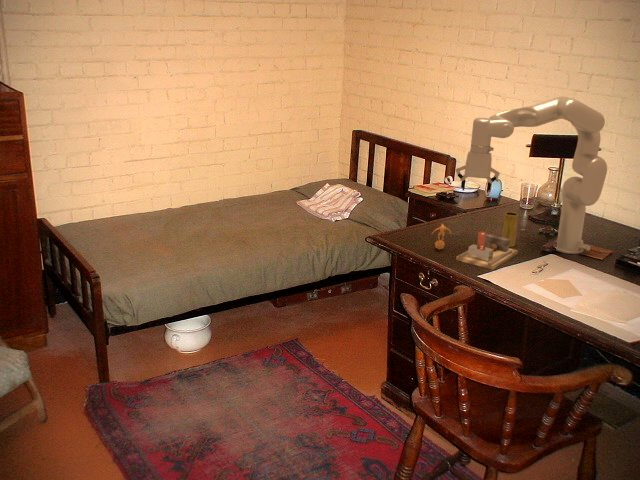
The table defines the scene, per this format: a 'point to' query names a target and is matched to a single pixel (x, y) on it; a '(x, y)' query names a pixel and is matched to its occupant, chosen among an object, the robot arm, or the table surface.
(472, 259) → the nutcracker base
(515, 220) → the vase
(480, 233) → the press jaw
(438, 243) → the figurine
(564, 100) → the robot arm
